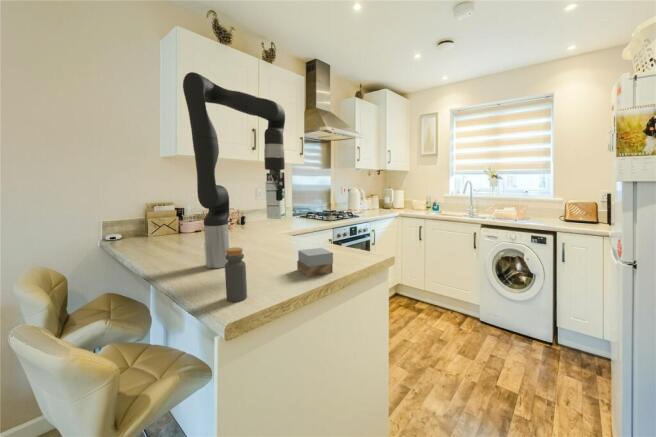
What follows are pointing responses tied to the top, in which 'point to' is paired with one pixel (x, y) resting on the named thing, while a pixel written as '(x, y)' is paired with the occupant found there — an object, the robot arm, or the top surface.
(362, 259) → the top surface
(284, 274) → the top surface
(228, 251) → the bottle
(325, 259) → the tower top block
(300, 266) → the tower base block
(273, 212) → the syrup box
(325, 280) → the top surface
